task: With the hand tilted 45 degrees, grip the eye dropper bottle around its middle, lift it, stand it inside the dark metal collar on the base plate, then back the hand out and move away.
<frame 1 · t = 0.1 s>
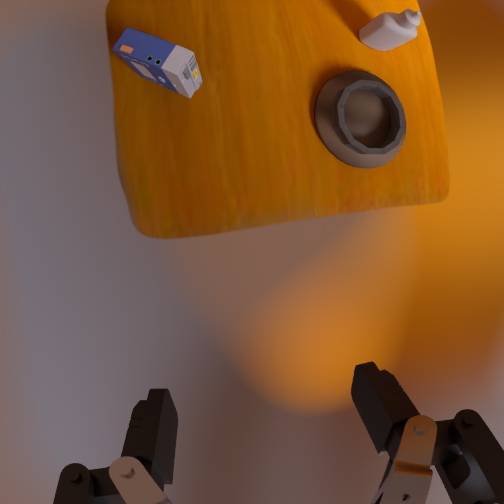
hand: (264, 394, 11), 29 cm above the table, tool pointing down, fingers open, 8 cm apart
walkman: (171, 78, 32), on the table
eye dropper bottle: (374, 40, 32), on the table
bottle collar: (361, 119, 36), on the table
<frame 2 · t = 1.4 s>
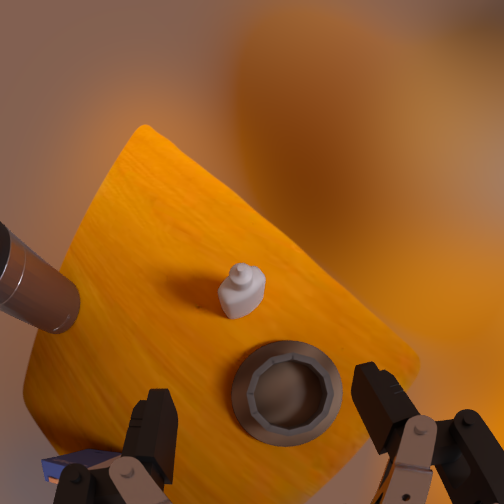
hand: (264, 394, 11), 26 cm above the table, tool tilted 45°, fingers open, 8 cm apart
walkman: (113, 459, 29), on the table
eye dropper bottle: (242, 303, 40), on the table
bottle collar: (287, 394, 34), on the table
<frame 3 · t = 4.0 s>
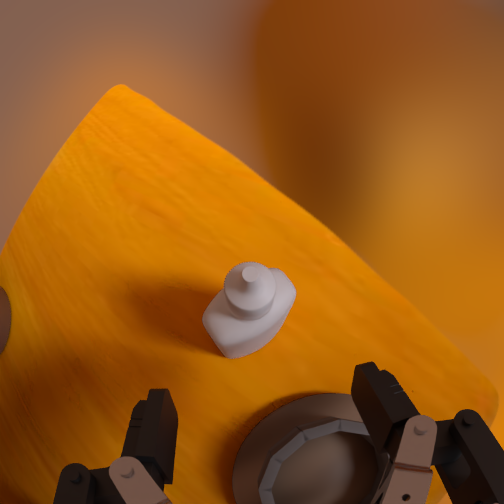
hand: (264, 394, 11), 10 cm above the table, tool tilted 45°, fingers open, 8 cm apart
eye dropper bottle: (249, 330, 23), on the table
bottle collar: (323, 474, 18), on the table
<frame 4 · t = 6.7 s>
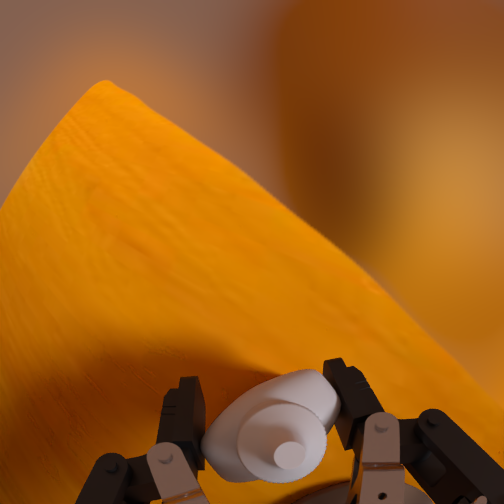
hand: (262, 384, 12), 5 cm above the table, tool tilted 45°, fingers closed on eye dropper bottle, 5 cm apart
eye dropper bottle: (262, 413, 16), on the table, touching gripper
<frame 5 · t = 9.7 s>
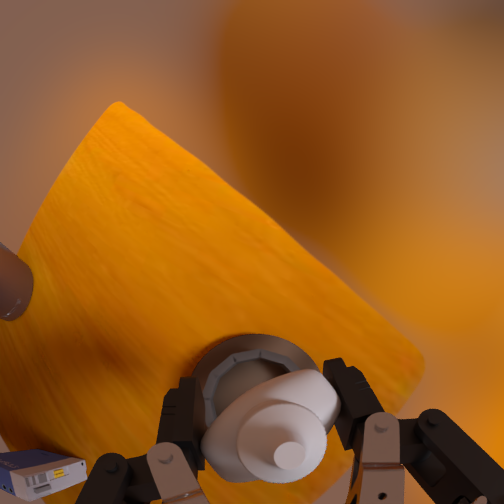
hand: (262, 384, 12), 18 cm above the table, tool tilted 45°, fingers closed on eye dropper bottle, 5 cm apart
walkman: (61, 463, 22), on the table
eye dropper bottle: (262, 413, 16), point 12 cm above the table, touching gripper
bottle collar: (256, 400, 27), on the table
when the fingers open (8 cm above the table, at t = 12.9 s): eye dropper bottle drops 1 cm, resting on bottle collar.
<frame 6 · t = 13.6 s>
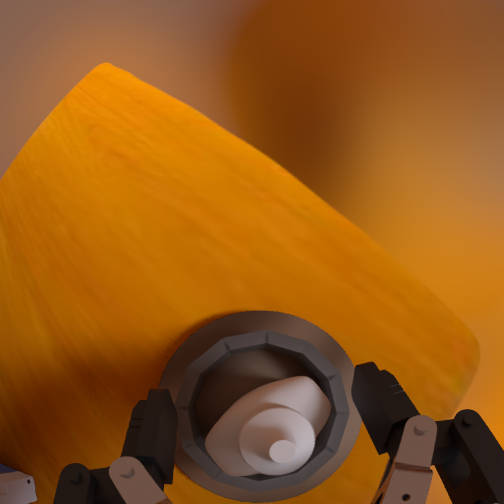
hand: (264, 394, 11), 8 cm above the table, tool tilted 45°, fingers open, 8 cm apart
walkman: (9, 477, 13), on the table
eye dropper bottle: (261, 414, 17), point 1 cm above the table, touching bottle collar
bottle collar: (260, 410, 18), on the table
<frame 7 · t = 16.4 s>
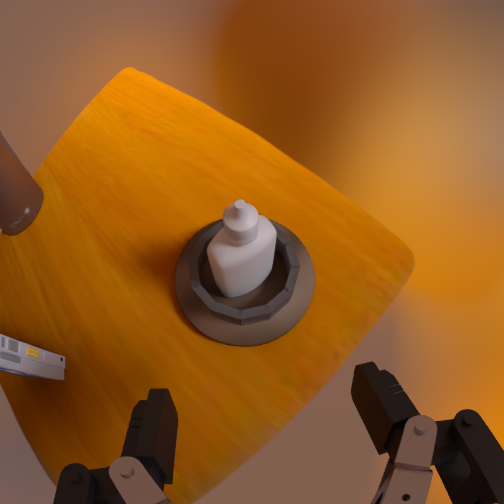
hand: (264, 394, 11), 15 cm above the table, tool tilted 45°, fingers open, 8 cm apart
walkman: (41, 366, 25), on the table
eye dropper bottle: (244, 277, 29), point 1 cm above the table, touching bottle collar
bottle collar: (244, 278, 30), on the table
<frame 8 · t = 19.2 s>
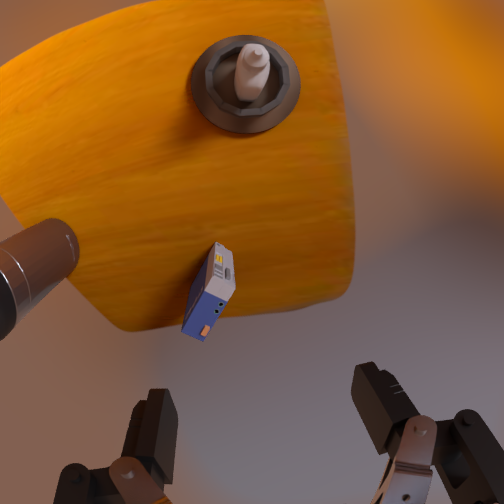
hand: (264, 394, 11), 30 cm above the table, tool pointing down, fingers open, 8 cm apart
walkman: (210, 269, 42), on the table
eye dropper bottle: (247, 82, 33), point 1 cm above the table, touching bottle collar
bottle collar: (245, 83, 34), on the table
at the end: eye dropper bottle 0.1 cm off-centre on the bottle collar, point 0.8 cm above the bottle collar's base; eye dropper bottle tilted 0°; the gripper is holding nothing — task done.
